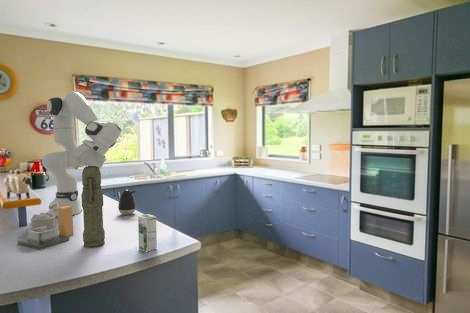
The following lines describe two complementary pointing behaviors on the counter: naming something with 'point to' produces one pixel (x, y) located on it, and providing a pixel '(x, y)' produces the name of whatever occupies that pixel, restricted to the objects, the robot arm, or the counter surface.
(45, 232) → the grey rail base plate
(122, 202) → the black kettle
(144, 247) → the syrup box
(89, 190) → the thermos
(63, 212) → the tall orange pillar
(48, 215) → the lumpy-topped squat cylinder
